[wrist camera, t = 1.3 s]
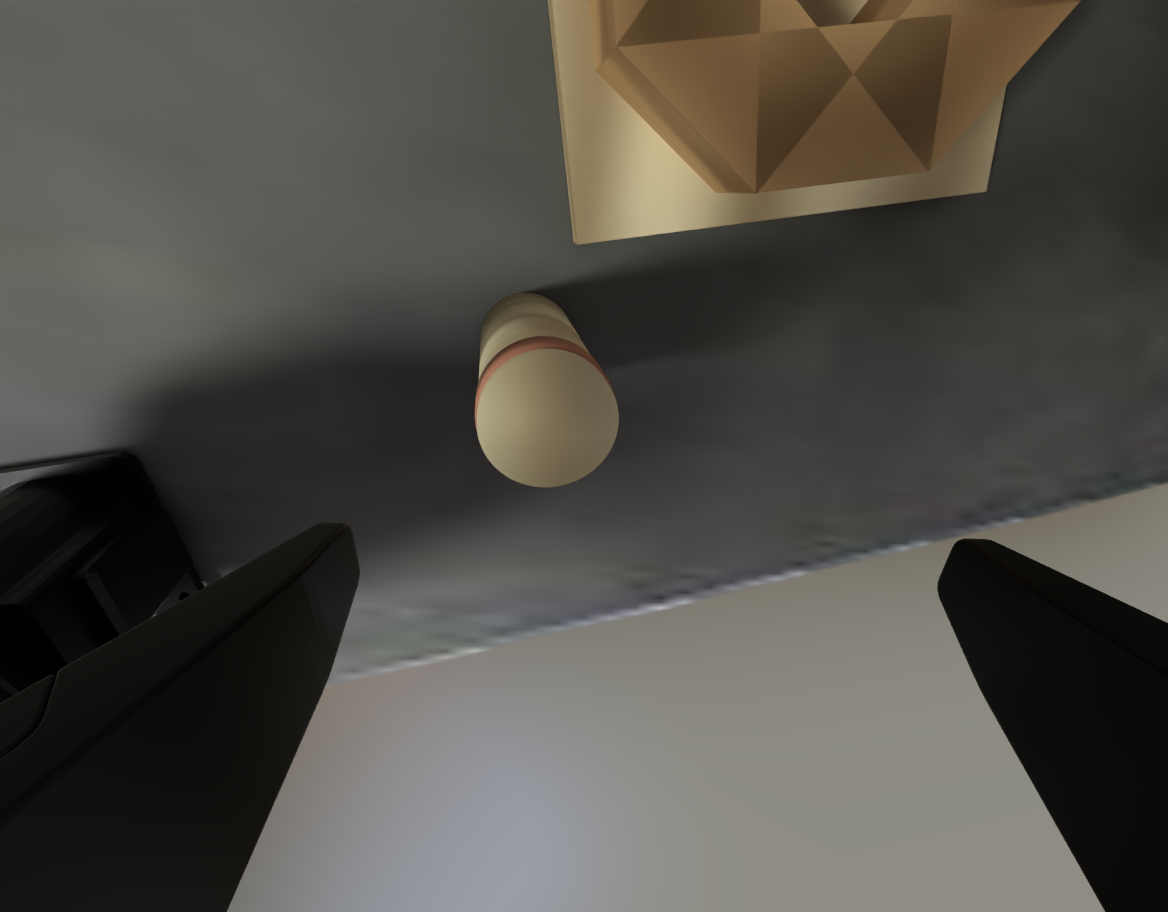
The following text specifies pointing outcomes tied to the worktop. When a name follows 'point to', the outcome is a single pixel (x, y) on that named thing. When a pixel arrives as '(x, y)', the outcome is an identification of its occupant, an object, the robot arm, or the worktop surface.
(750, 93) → the bead
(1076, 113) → the worktop surface
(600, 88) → the board
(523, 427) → the cream banded cylinder
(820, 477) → the worktop surface
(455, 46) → the worktop surface
